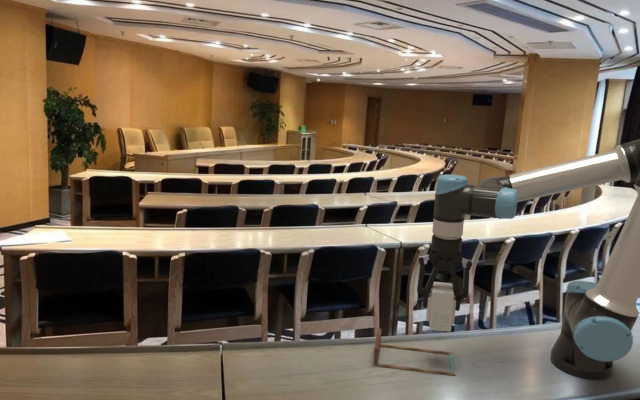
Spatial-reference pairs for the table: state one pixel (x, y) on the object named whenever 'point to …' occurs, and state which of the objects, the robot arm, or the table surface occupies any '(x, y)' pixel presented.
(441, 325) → the small box
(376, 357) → the bay
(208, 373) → the table surface
